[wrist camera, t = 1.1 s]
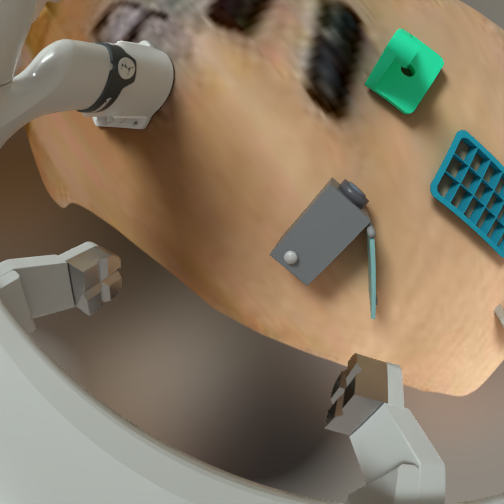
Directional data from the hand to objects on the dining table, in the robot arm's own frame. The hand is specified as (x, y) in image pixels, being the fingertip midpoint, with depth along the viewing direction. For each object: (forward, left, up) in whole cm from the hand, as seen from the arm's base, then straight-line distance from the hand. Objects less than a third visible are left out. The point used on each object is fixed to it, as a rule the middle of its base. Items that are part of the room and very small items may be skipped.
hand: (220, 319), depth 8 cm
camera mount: (+12, +18, -36) cm, 42 cm away
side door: (+9, -11, -35) cm, 38 cm away
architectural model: (+42, -19, -36) cm, 58 cm away
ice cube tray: (+28, +2, -36) cm, 45 cm away
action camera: (+1, -7, -35) cm, 36 cm away
